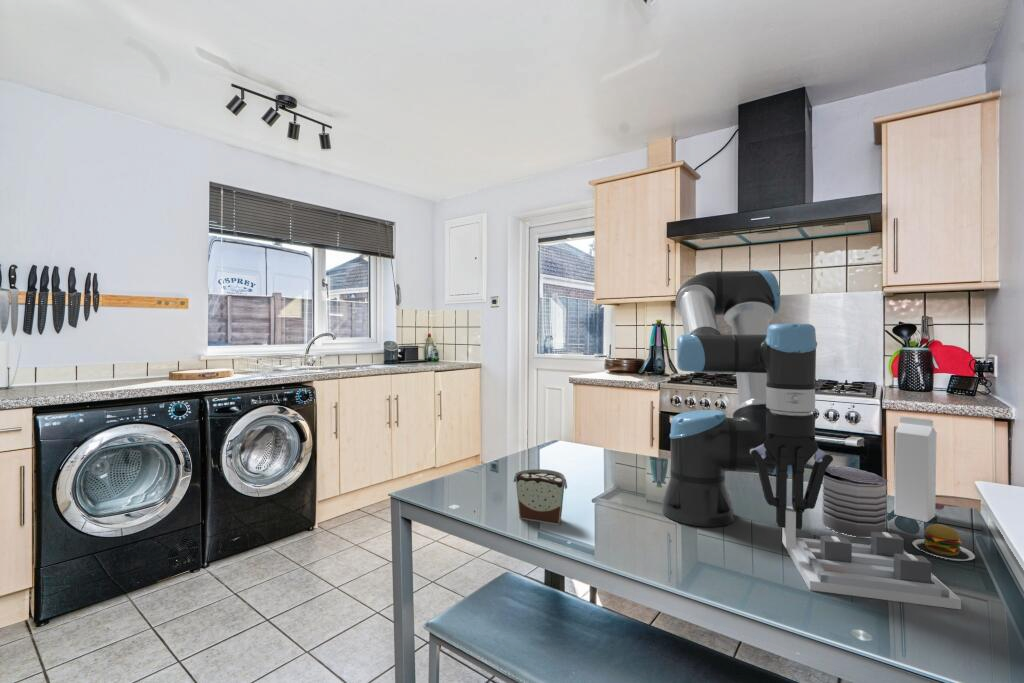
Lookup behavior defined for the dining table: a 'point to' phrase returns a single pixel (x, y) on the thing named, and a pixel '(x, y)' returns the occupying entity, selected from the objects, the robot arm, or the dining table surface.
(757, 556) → the dining table surface
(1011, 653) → the dining table surface
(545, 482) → the food container
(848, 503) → the can
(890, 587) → the panel
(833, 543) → the breaker mid
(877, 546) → the breaker far
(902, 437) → the milk
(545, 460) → the dining table surface
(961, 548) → the hamburger
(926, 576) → the breaker near
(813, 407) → the robot arm
